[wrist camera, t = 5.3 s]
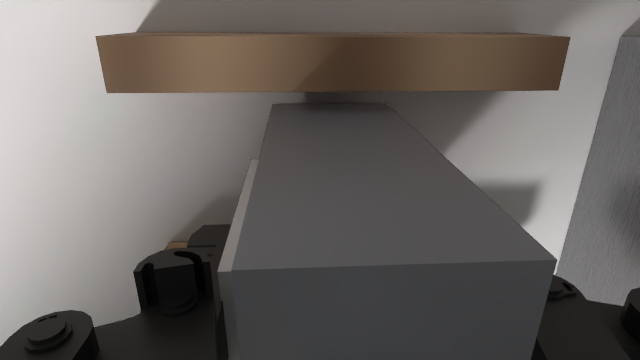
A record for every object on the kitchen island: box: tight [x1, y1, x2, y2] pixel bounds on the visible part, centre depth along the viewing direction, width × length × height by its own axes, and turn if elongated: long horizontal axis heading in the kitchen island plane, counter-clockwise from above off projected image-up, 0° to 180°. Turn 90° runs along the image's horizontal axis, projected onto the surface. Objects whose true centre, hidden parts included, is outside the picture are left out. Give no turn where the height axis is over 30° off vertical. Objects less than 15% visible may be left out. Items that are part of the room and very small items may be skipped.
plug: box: [231, 103, 557, 360], centre depth 9 cm, size 4×6×13 cm, turn 0°
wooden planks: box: [96, 32, 570, 250], centre depth 15 cm, size 14×10×3 cm
